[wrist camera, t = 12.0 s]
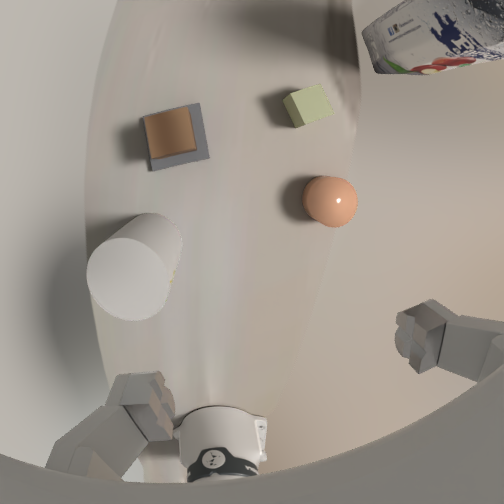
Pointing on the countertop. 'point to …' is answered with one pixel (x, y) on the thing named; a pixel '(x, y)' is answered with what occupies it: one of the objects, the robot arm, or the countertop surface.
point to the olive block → (307, 105)
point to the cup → (135, 267)
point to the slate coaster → (190, 156)
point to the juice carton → (436, 36)
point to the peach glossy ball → (330, 200)
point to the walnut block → (170, 133)
